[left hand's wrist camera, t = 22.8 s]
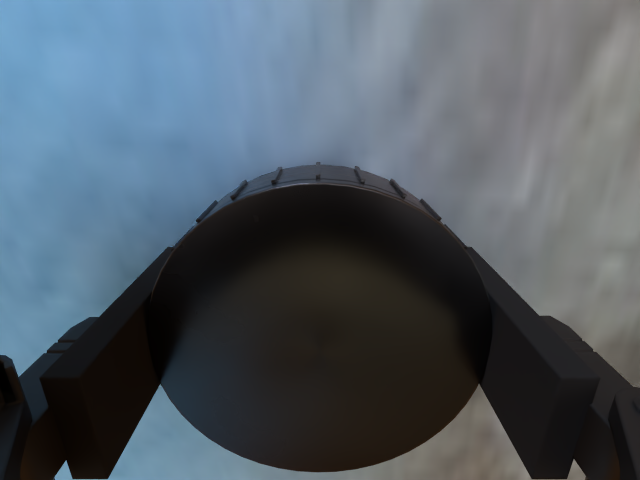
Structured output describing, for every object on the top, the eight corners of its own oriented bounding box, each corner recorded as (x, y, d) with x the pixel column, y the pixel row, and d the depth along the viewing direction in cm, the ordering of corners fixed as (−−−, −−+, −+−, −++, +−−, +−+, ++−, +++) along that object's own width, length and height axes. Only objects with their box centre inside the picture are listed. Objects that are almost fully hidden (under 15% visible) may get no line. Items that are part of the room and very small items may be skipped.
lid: (316, 453, 15) (315, 515, 12) (116, 302, 12) (72, 347, 10) (521, 309, 12) (563, 355, 10) (324, 87, 10) (325, 86, 8)
